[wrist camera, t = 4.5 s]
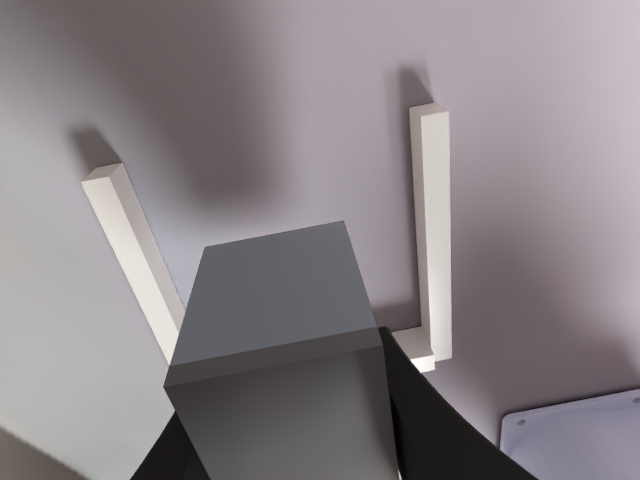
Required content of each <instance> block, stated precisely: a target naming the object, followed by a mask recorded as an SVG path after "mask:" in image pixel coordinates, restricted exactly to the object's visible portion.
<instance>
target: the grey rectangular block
mask: <svg viewBox="0 0 640 480" xmlns="http://www.w3.org/2000/svg"><path fill="white" fill-rule="evenodd" d="M163 387H164V389H165V391H166V393H167V395H168V397H169V399H170V401H171V403H172V405H173V407H174V409H175V411H176V413H177V415H178V417H179V419H180V421H181V422H182V424H183V426H184V428H185V430H186V432H187V434H188V436H189V438H190V440H191V442H192V444H193V446H194V448H195V450H196V452H197V454H198V456H199V458H200V460H201V462H202V464H203V465H204V467H205V469H206V471H207V473H208V475H209V477H210V479H211V480H399V472H398V464H397V456H396V447H395V439H394V431H393V423H392V415H391V406H390V398H389V390H388V382H387V374H386V366H385V357H384V349H383V344H382V340H381V337H380V334H379V331H378V328H377V325H376V321H375V318H374V315H373V312H372V309H371V305H370V302H369V299H368V296H367V293H366V290H365V286H364V283H363V280H362V277H361V274H360V271H359V267H358V264H357V261H356V258H355V255H354V252H353V248H352V245H351V242H350V239H349V236H348V232H347V229H346V226H345V223H344V221H339V222H334V223H329V224H323V225H318V226H313V227H308V228H302V229H297V230H292V231H287V232H281V233H276V234H271V235H266V236H260V237H255V238H250V239H245V240H239V241H234V242H229V243H224V244H218V245H213V246H208V247H205V248H204V251H203V255H202V258H201V261H200V265H199V268H198V272H197V275H196V278H195V282H194V285H193V288H192V292H191V295H190V298H189V302H188V305H187V309H186V312H185V315H184V319H183V322H182V325H181V329H180V332H179V336H178V339H177V342H176V346H175V349H174V352H173V356H172V359H171V362H170V366H169V369H168V373H167V376H166V379H165V383H164V386H163Z"/></svg>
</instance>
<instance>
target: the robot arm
mask: <svg viewBox="0 0 640 480" xmlns="http://www.w3.org/2000/svg"><path fill="white" fill-rule="evenodd" d="M378 331H379V334H380V337H381V340H382V344H383V349H384V357H385V366H386V374H387V382H388V390H389V398H390V406H391V415H392V423H393V431H394V439H395V447H396V456H397V464H398V470H399V473H400V475H401V478H402V480H640V389H636V390H631V391H626V392H621V393H616V394H610V395H605V396H600V397H595V398H590V399H584V400H579V401H574V402H569V403H564V404H558V405H553V406H548V407H543V408H538V409H532V410H527V411H522V412H517V413H512V414H508V415H506V416H505V417H504V418H503V420H502V430H501V442H500V449H498V448H497V447H496V446H495V445H494V444H492V443H491V442H490V441H489V440H488V439H487V438H485V437H484V436H483V435H482V434H481V433H480V432H478V431H477V430H476V429H475V428H474V427H473V426H472V425H471V424H470V423H468V422H467V421H466V420H465V419H464V418H463V417H462V416H461V415H460V414H459V413H458V412H457V411H456V410H455V409H454V408H453V407H452V406H451V405H450V404H449V403H448V402H447V401H446V400H445V399H444V398H443V397H442V396H441V395H440V394H439V393H438V392H437V391H436V389H435V388H434V387H433V386H432V385H431V384H430V383H429V382H428V381H427V379H426V378H425V377H424V376H423V375H422V374H421V372H420V371H419V370H418V369H417V368H416V366H415V365H414V364H413V363H412V362H411V360H410V359H409V358H408V356H407V355H406V354H405V352H404V351H403V350H402V348H401V347H400V345H399V344H398V343H397V341H396V340H395V338H394V337H393V335H392V333H391V332H390V330H389V329H388V328H387V327H380V328H378ZM130 480H211V479H210V477H209V475H208V473H207V471H206V469H205V467H204V465H203V464H202V462H201V460H200V458H199V456H198V454H197V452H196V450H195V448H194V446H193V444H192V442H191V440H190V438H189V436H188V434H187V432H186V430H185V428H184V426H183V424H182V422H181V421H180V419H179V417H178V415H177V413H176V411H175V412H174V414H173V416H172V417H171V419H170V421H169V422H168V424H167V426H166V427H165V429H164V430H163V432H162V434H161V435H160V437H159V438H158V440H157V441H156V443H155V444H154V446H153V447H152V449H151V450H150V452H149V453H148V455H147V456H146V458H145V459H144V461H143V462H142V464H141V465H140V466H139V468H138V469H137V471H136V472H135V473H134V475H133V476H132V477H131V479H130Z"/></svg>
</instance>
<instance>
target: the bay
mask: <svg viewBox="0 0 640 480" xmlns="http://www.w3.org/2000/svg"><path fill="white" fill-rule="evenodd" d="M409 119H410V136H411V153H412V170H413V188H414V205H415V222H416V239H417V257H418V274H419V291H420V308H421V325H422V326H421V327H415V328H410V329H405V330H400V331H395V332H391V333H392V335H393V337H394V338H395V340H396V341H397V343H398V344H399V345H400V347H401V348H402V350H403V351H404V352H405V354H406V355H407V356H408V358H409V359H410V360H411V362H412V363H413V364H414V365H415V366H416V368H417V369H418V370H419V371H420V372H421V373H422V372H427V371H432V370H435V361H440V360H446V359H451V358H452V320H451V227H450V134H449V111H448V110H446V109H445V108H443V107H441V106H440V105H438V104H437V103H430V104H424V105H419V106H414V107H409ZM81 184H82V186H83V188H84V190H85V192H86V194H87V197H88V199H89V201H90V203H91V205H92V207H93V209H94V211H95V213H96V215H97V217H98V219H99V221H100V223H101V225H102V227H103V229H104V232H105V234H106V236H107V238H108V240H109V242H110V244H111V246H112V248H113V250H114V252H115V254H116V256H117V258H118V260H119V262H120V265H121V267H122V269H123V271H124V273H125V275H126V277H127V279H128V281H129V283H130V285H131V287H132V289H133V291H134V293H135V295H136V297H137V300H138V302H139V304H140V306H141V308H142V310H143V312H144V314H145V316H146V318H147V320H148V322H149V324H150V326H151V328H152V330H153V332H154V335H155V337H156V339H157V341H158V343H159V345H160V347H161V349H162V351H163V353H164V355H165V357H166V359H167V361H168V363H169V365H170V362H171V359H172V356H173V352H174V349H175V346H176V342H177V339H178V336H179V332H180V329H181V325H182V322H183V319H184V315H185V310H184V307H183V305H182V303H181V300H180V298H179V295H178V293H177V291H176V288H175V286H174V284H173V281H172V279H171V276H170V274H169V272H168V269H167V267H166V265H165V262H164V260H163V257H162V255H161V253H160V250H159V248H158V246H157V243H156V241H155V238H154V236H153V234H152V231H151V229H150V227H149V224H148V222H147V219H146V217H145V215H144V212H143V210H142V208H141V205H140V203H139V200H138V198H137V196H136V193H135V191H134V189H133V186H132V184H131V181H130V179H129V177H128V174H127V172H126V170H125V167H124V165H123V162H122V163H117V164H112V165H107V166H102V167H96V168H95V169H94V170H93V171H92V172H91V173H90V174H89V175H88V176H87V177H85V178H84V179H83V180H82V181H81Z"/></svg>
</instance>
